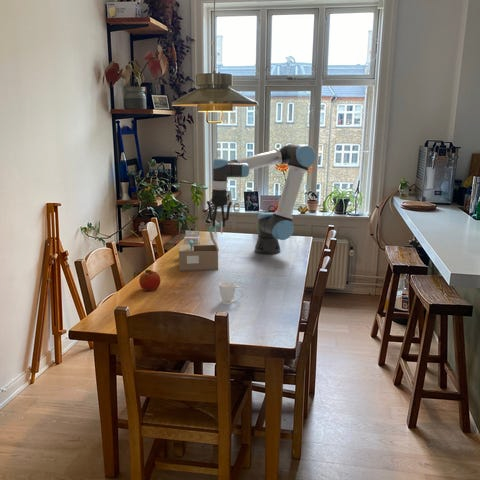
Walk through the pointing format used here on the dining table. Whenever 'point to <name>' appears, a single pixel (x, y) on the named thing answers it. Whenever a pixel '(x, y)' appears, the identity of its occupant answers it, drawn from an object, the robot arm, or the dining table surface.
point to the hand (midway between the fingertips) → (218, 232)
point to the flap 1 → (187, 247)
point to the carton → (199, 258)
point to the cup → (228, 292)
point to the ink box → (192, 237)
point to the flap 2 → (212, 235)
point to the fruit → (149, 280)
